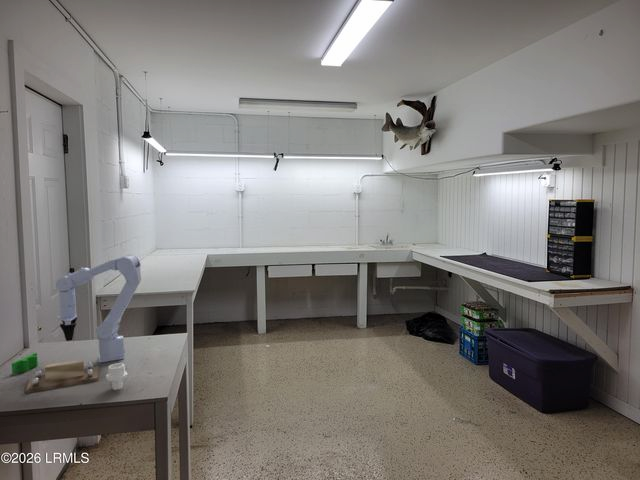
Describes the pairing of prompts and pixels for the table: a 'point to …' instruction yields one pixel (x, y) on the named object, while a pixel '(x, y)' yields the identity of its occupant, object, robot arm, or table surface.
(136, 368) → the table surface
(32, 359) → the green block
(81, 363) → the pine shelf board
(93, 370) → the peg base
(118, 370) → the pipe fitting
